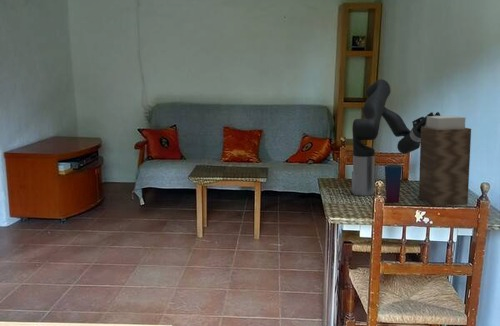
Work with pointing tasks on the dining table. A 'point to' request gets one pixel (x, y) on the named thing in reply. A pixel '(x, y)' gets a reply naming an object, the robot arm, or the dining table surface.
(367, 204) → the dining table surface
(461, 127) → the caddy
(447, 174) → the cabinet
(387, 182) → the cup
